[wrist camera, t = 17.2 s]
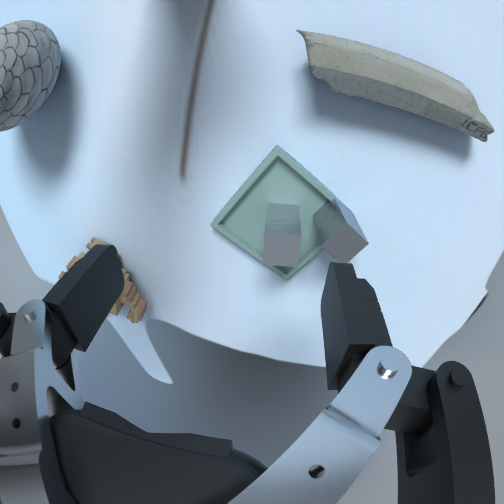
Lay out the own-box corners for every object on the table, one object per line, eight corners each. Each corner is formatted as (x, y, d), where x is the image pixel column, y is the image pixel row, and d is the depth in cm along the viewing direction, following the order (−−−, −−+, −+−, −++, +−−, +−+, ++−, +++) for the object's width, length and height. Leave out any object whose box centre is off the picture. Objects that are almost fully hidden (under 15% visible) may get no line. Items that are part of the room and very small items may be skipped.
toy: (46, 254, 39) (64, 311, 52) (134, 297, 42) (135, 346, 55) (74, 223, 47) (83, 282, 60) (156, 258, 49) (150, 313, 62)
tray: (213, 219, 45) (210, 225, 43) (277, 144, 37) (276, 147, 36) (286, 273, 49) (286, 280, 47) (353, 212, 41) (355, 218, 40)
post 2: (312, 213, 42) (320, 245, 34) (332, 193, 40) (346, 221, 32) (332, 230, 43) (343, 265, 35) (351, 211, 41) (368, 243, 33)
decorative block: (467, 136, 31) (493, 147, 25) (292, 87, 32) (294, 85, 26) (473, 95, 27) (501, 100, 21) (296, 37, 28) (300, 25, 22)
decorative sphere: (10, 92, 32) (-60, 115, 15) (48, 11, 23) (-29, 11, 6) (52, 135, 38) (-27, 172, 21) (101, 44, 29) (9, 42, 12)
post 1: (267, 228, 44) (262, 264, 36) (268, 202, 42) (264, 233, 33) (295, 230, 44) (297, 267, 35) (298, 204, 41) (301, 236, 33)
